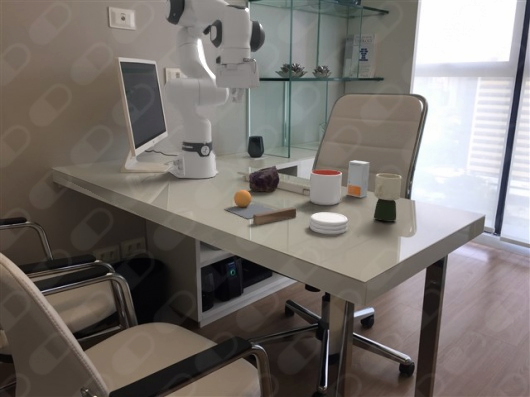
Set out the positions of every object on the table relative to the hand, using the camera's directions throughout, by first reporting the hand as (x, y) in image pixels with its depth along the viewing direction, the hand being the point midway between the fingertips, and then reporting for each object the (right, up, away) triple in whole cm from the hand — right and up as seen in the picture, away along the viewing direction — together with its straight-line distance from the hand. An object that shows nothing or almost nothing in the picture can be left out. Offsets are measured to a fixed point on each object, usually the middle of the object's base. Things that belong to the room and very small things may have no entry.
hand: (236, 102), depth 145 cm
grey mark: (+5, -35, -12) cm, 38 cm away
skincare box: (+42, -31, +9) cm, 53 cm away
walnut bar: (+12, -38, -21) cm, 45 cm away
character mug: (+44, -38, -19) cm, 61 cm away
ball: (+2, -32, -9) cm, 33 cm away
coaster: (+26, -40, -27) cm, 55 cm away
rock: (+10, -29, +14) cm, 34 cm away
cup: (+29, -33, 0) cm, 44 cm away
